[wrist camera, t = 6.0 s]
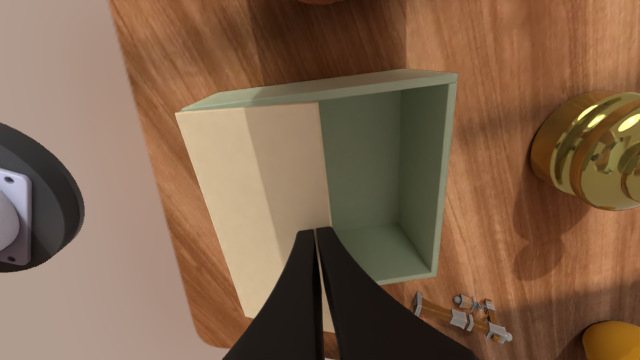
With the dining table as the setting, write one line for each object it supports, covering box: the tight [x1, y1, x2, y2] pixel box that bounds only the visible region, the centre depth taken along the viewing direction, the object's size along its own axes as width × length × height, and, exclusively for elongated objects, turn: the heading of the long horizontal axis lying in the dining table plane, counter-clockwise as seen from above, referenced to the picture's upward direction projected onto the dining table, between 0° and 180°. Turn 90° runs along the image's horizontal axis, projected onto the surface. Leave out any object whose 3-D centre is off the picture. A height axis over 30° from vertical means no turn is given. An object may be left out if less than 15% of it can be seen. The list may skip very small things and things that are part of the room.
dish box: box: [181, 69, 458, 285], centre depth 16 cm, size 12×12×6 cm
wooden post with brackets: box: [413, 291, 512, 344], centre depth 25 cm, size 2×8×4 cm, turn 85°
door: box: [175, 102, 335, 333], centre depth 12 cm, size 6×12×1 cm, turn 6°
